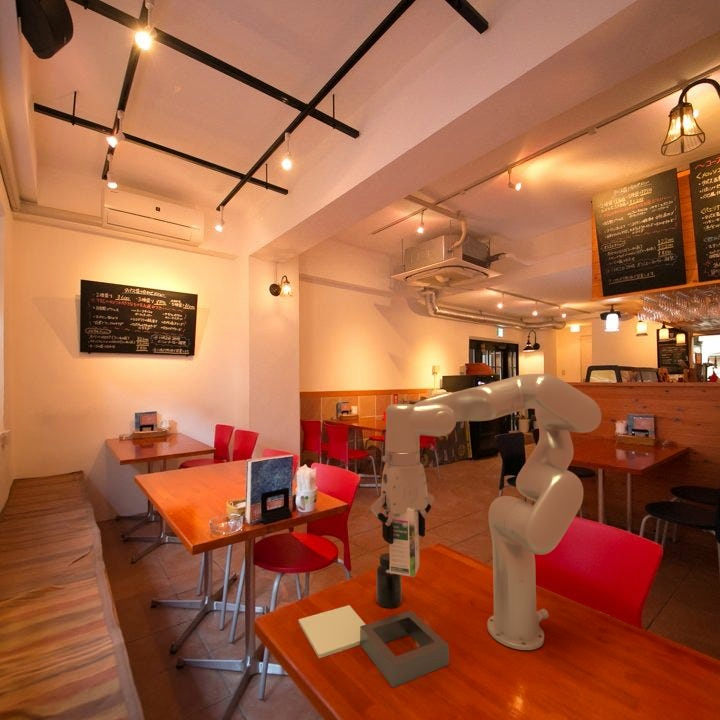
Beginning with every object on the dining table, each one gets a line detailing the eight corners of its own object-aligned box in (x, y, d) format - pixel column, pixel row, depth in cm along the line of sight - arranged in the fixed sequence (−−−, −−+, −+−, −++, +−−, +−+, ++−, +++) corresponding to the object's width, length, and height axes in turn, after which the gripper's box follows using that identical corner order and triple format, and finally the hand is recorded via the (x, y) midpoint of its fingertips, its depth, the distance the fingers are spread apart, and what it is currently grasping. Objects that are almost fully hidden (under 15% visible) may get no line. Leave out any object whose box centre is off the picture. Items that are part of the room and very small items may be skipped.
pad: (349, 608, 102) (349, 605, 102) (375, 639, 89) (375, 635, 89) (298, 622, 95) (298, 619, 95) (318, 658, 83) (318, 654, 83)
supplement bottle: (395, 593, 109) (395, 549, 110) (405, 606, 103) (405, 560, 104) (372, 597, 107) (372, 552, 108) (381, 611, 101) (381, 563, 101)
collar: (410, 627, 94) (410, 610, 94) (448, 664, 81) (448, 644, 82) (360, 644, 87) (360, 626, 88) (392, 687, 75) (392, 666, 75)
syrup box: (388, 574, 84) (387, 506, 85) (395, 562, 89) (394, 498, 90) (414, 578, 82) (413, 508, 83) (420, 565, 87) (418, 500, 88)
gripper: (378, 465, 80) (379, 552, 79) (444, 457, 88) (445, 536, 87) (361, 459, 87) (362, 539, 86) (424, 452, 95) (425, 525, 93)
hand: (404, 537), depth 86 cm, fingers closed on syrup box, 7 cm apart
